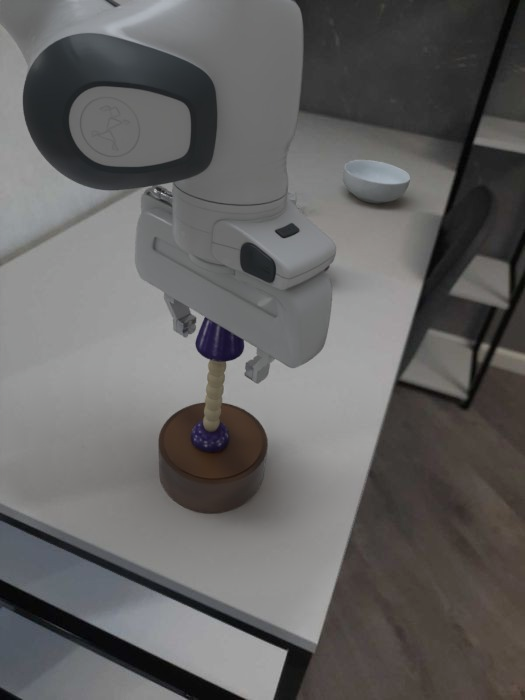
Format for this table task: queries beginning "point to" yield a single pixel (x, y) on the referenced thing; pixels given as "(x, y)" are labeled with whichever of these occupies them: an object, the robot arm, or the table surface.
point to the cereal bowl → (375, 180)
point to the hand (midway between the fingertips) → (218, 353)
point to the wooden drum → (212, 460)
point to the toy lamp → (214, 383)
